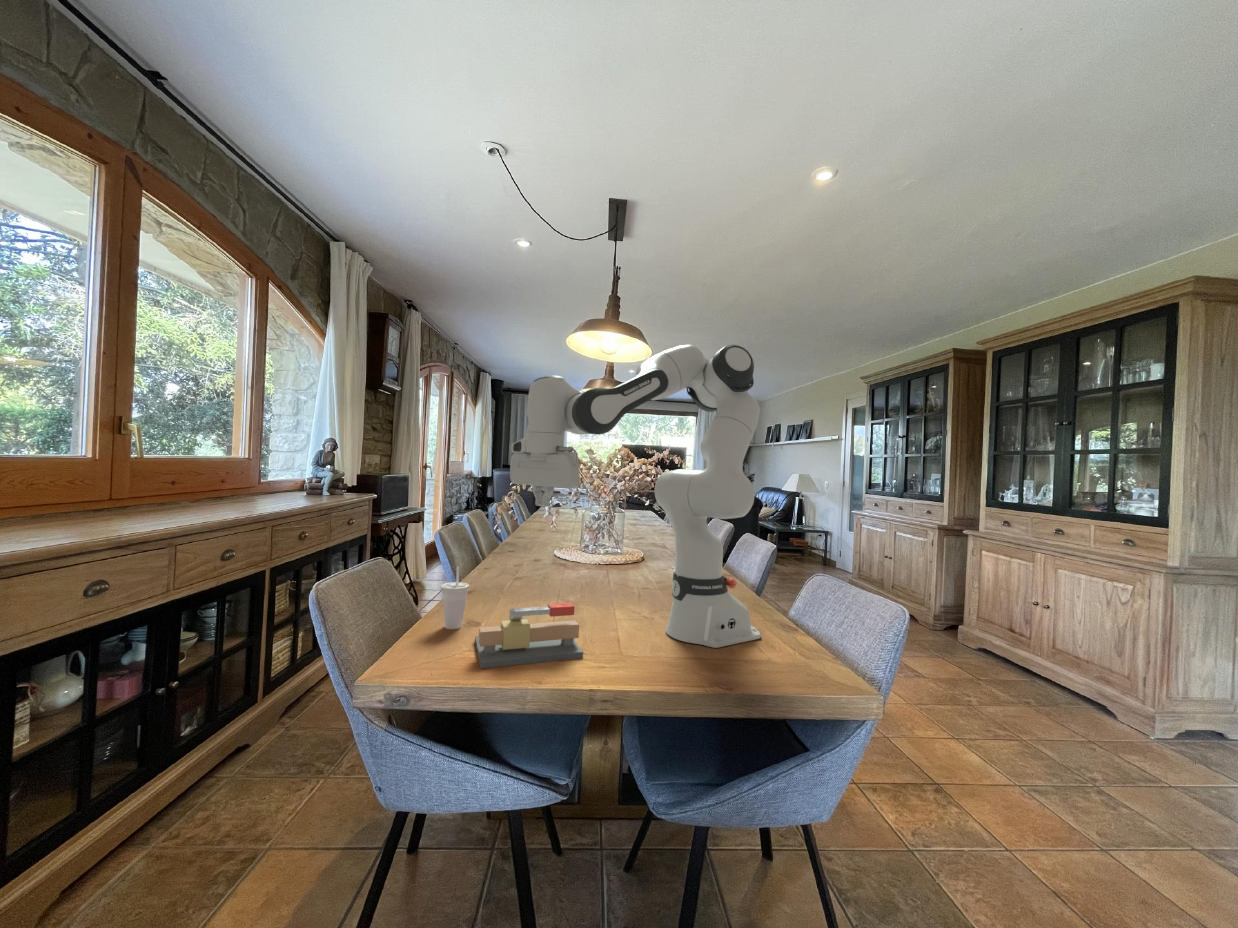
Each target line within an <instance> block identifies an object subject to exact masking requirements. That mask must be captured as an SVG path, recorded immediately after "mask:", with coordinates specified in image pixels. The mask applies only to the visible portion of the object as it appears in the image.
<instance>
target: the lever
mask: <svg viewBox="0 0 1238 928" xmlns="http://www.w3.org/2000/svg"><path fill="white" fill-rule="evenodd" d="M542 615H544V616H545V615H549V617H550V618H551V617H565V616H566V617H567V616H575V605H574V604H573V603H572V602H562V603H561V602H558V603H548V604H547V606H534V607H533V606H532V607H520V608H519V607H513V608H511V609H509V616H508V617H509V618H508V619H509V620H512V621H519V620H523V617H529V616H542Z"/></svg>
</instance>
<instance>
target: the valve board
mask: <svg viewBox="0 0 1238 928" xmlns="http://www.w3.org/2000/svg"><path fill="white" fill-rule="evenodd" d="M579 635H580V624H579V622H577V620H563V621H550V622H537V623H536V622H535V623H530V622H529V621H528V619H527V618H525V619H523V618H522V620H519V621H512V620H510V619H509V620H501V622H500V625H497V626H481V627H478V635H477V636H475V635H474V643H475V644H474V645H475V649H476V653H477V657H478V661H479V667H480V669H488V668H499V667H508V666H509V667H510V666H518V665H527V664H528V665H529V664H537V663H538V664H539V663H546V662H557V661H565V660H566V661H567V660H573V659H575V660H576V659H584V651H583V650H582V649H581V648H580V646H579V644H578V643H577V642H576V640H575V639H579V637H580V636H579Z"/></svg>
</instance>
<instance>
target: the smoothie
mask: <svg viewBox="0 0 1238 928" xmlns="http://www.w3.org/2000/svg"><path fill="white" fill-rule="evenodd" d="M469 590H470V584H469V583H467V582H463V581H460V566H456V579H455V581H451V582H446V583H443V584H441V585H440V592H441V596H442V597H441V598H442V608H443V619H444V628H445V629H446V630H458V629H460V628H462V626H463V620H464V616H465V615H464V613H465V609H466V602H467V598H468V591H469Z"/></svg>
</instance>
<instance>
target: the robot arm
mask: <svg viewBox="0 0 1238 928" xmlns="http://www.w3.org/2000/svg"><path fill="white" fill-rule="evenodd" d="M636 368H637V369H636V371H635V376H634V377H633V378H630V379H628V380H627V381H624V382H622V383H621V384H618V385H617V386H616V385H615V387H612V388H607V387H596V388H595V387H594V388H590V389H588V390H586V391H584V392H583V391H581V390H579V389H577V388H576V387H574V386H572V385H571V384H570V383H569V382H568V381H566V380H565V378H564V377H563V376H560V375H545V376H541V377H537V378H535V379H534V380H533V381H532V382H531V383H530V386H529V391H528V396H527V405H526V408H527V409H526V415H527V420H528V423H527V427H526V430H525V431H526V433H525V436H524V437H523V438H521V439H519V440H516V441H514V442H513V443H511V445H510V451H511V453H513V454H512V455H511V458H510V463H509V464H510V465H509V466H510V467H509V478H510V481H511V483H512V484H516V485H523V486H524V485H526V486H527V485H528V486H532V488H531V489H532V490H531V491H532V494H533V496H534V498H535V506H538V507H544V508H545V507H549V506H550V504H551V503H550V501H551V498H552V496H553V494H554V491H555V488H556V489H557V488H558V489H566V490H567V489H568V490H569V489H570V490H571V489H577V488H578V487H579V485H580V479H581V478H580V465H579V460H578V459H579V458H578V457H579V453H578V452H577V450H576V449H575V448H574V447H573V446H565V436H566V435H565V434H566V432H568V433H571V434H574V435H597V436H598V435H604V434H607V433H609V432H611V431H612V430H613V429H614V428H615V427H616V425H618V423H619V422H620V421H621V419H622V418H623V417H624V416H625V415H626V414H627V413H629V412H631V411H632V410H633V409H636V408H638V407H640V406H641V405H643V404H645V403H647V402H649V401H657V400H658V401H659V400H662V399H664V398H667V397H670V396H672V395H674V394H677V393H678V392H680V391H682V390H684V389H686V393H687V395H689V396H690V398H691V400H692V402H693V403H694V404H695V405H696V406H697V408H699V409H701V410H702V411H704V412H709V413H713V412H715V415H714V417H713V418H712V420H711V422H710V424H709V425H708V428H707V430H706V431H705V434H704V436H703V438H702V439H701V442H700V445H699V448H700V453H701V456H702V457H703V459H704V460H705V462H707V463H708V465H707V467H706V468H703V469H686V468H685V469H684V468H679V469H674V470H668V471H664V472H662V473H661V474H660V475H659V476H658V478H657V479H656V482H655V485H654V490H653V491H654V497H655V501H656V502H657V504H658V506H659V507H660V508H662V510H663V511H664V513H665V514H666V515H667V518H668V519H669V523H670V525H671V528H672V531H673V535H674V545H675V550H674V551H675V552H674V553H675V554H674V555H675V557H674V558H675V559H674V563H675V564H674V565H675V566H674V571H673V574H672V585H671V587H672V588H671V592H672V594H671V595H672V603H671V607H670V614H669V617H668V620H667V624H666V626H665V633H666V634H667V635H668V636H669V637H671V638H673V639H675V640H678V641H681V642H685V643H690V644H695V645H696V644H697V645H703V646H706V647H709V648H712V649H713V648H715V649H716V648H717V649H718V648H722V647H726V646H730V645H732V646H733V645H737V644H739V643H745V642H749V641H755V640H759V639H761V633H760V631H759V630H758V628H756V627H754V626H753V625H752V623H751V615H750V611H749V610H748V608H747V607H746V606H745V605H744V603H742V602H741V601H740V600H739V599H737V597H736V596H734V595H733V594H732V593H731V592H729V590H728V587H729V588H732V589H734V588H736V586H737V584H738V582H737V579H734V578H732V577H728V578H727V577H726V576H724V575H723V561H724V560H723V558H724V557H723V556H724V546H723V543H722V541H721V539H720V538H719V537H718V536H717V535H716V534H715V533H714V532H713V531H712V530H711V529H710V527H709V525H708V522H707V518H712V519H719V520H720V519H721V520H729V519H730V520H731V519H738V518H743V517H745V516H746V515H747V514H748V513H749V512H750V510H751V509H752V507H753V506H754V503H755V489H754V486H753V484H752V482H751V480H750V479H749V478H748V477H747V476H746V475H745V474H744V473H745V472H744V469H743V467H744V465H743V463H744V459H745V458H746V455H747V452H748V450H749V447H750V444H751V442H752V440H753V437H754V435H755V432H756V431H757V426H758V422H759V418H760V414H761V409H760V404H759V403H758V401H757V400H756V398H755V397H753V396H752V395H750V393H749V390H750V389H752V388H753V386H754V385H755V384H754V383H755V382H754V381H755V380H754V370H755V362H754V359H753V357H752V355H751V352H749V350H747V349H746V348H745V347H743V346H741V345H738V344H728V345H725V346H723V347H722V348H720V349H719V350H718V351H717V352H716V353H714V355H713V357H712V358H711V359H707V358H706V357H705V356H704V354H703V352H702V350H700V348H699V347H697V346H695V345H693V344H684V345H678V346H675V347H673V348H669V349H666V350H663V351H661V352H659V353H657V354H655V355H652V356H651V357H649V358H647V359H645V361H643V362H642V363H640V364H639V365H638V366H637V367H636Z"/></svg>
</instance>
